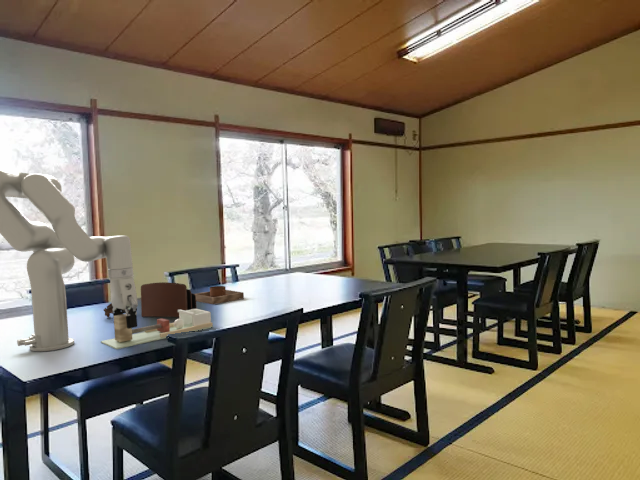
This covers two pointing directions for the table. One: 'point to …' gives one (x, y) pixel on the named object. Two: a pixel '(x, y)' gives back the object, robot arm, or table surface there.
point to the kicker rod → (126, 334)
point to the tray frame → (221, 299)
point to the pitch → (192, 322)
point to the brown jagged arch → (110, 310)
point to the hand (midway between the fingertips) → (125, 325)
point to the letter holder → (166, 299)
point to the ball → (178, 323)
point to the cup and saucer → (217, 291)
